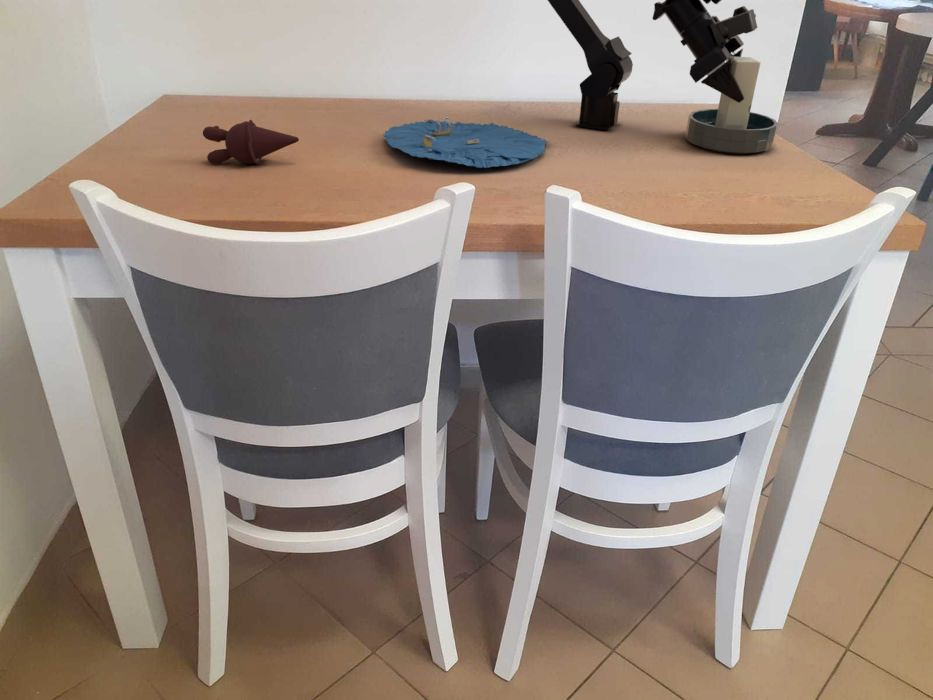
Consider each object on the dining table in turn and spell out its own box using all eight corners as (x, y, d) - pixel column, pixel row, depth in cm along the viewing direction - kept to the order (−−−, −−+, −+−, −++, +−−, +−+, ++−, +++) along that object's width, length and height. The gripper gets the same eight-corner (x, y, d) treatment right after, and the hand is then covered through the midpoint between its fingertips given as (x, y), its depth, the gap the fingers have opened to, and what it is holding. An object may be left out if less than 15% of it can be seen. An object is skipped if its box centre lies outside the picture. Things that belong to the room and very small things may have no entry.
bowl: (676, 148, 132) (681, 122, 129) (694, 128, 143) (698, 105, 141) (765, 161, 126) (771, 134, 124) (776, 140, 138) (782, 115, 136)
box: (745, 138, 132) (762, 62, 125) (720, 137, 132) (737, 61, 125) (735, 130, 136) (752, 56, 130) (712, 129, 136) (727, 55, 129)
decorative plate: (443, 123, 147) (443, 96, 145) (576, 149, 133) (579, 119, 130) (339, 150, 126) (338, 119, 123) (484, 184, 111) (486, 149, 109)
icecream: (300, 116, 120) (208, 123, 120) (290, 115, 113) (193, 123, 113) (306, 160, 122) (215, 167, 122) (297, 162, 115) (201, 169, 115)
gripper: (725, -6, 116) (780, 76, 118) (743, -15, 130) (792, 58, 132) (666, 42, 123) (719, 119, 125) (689, 29, 137) (737, 98, 139)
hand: (744, 97), depth 130 cm, fingers closed on box, 6 cm apart
